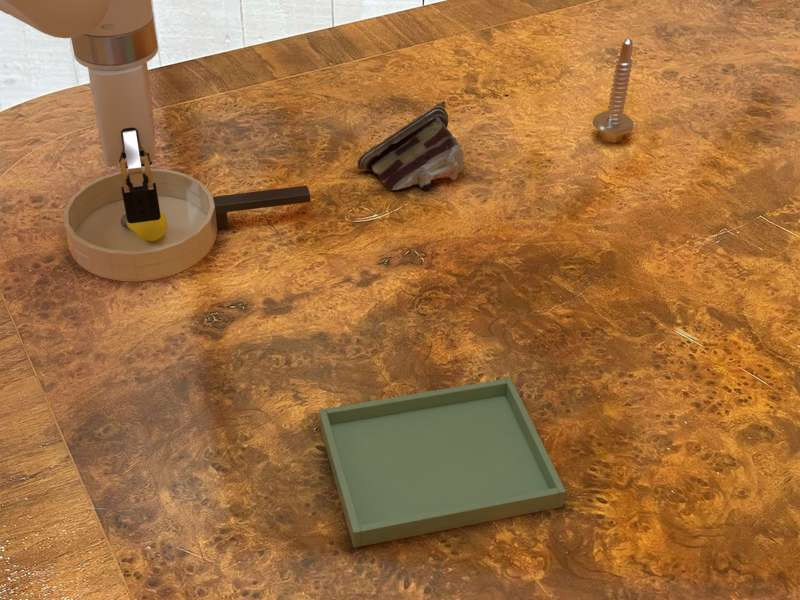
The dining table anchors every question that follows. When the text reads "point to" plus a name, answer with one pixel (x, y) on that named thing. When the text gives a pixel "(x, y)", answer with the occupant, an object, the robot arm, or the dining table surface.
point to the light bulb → (147, 228)
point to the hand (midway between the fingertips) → (140, 192)
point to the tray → (437, 461)
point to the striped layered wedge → (416, 153)
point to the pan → (120, 247)
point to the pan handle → (257, 201)
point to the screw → (617, 100)
